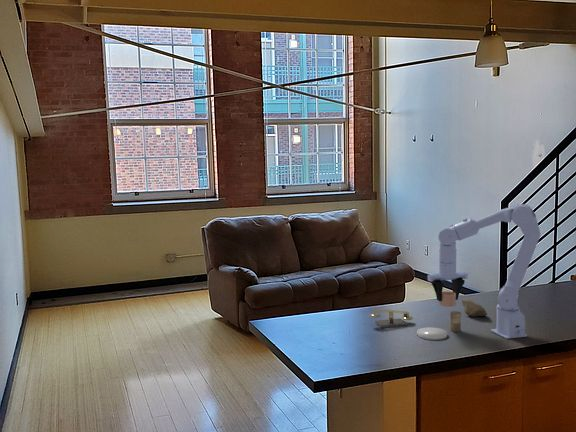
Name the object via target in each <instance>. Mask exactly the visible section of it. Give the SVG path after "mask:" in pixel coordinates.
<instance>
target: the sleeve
mask: <svg viewBox="0 0 576 432" xmlns="http://www.w3.org/2000/svg"><path fill="white" fill-rule="evenodd" d="M456 301H457V300H456V293H454V292H453V291H442V301H438V305H439V306H441V307H446V308H447V307H450V308H451V307H455V306H457V303H456Z"/></svg>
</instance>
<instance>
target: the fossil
mask: <svg viewBox="0 0 576 432" xmlns="http://www.w3.org/2000/svg"><path fill="white" fill-rule="evenodd" d="M461 302H462V306H463V309H464V313H465V314H466V315H467V316H470V317H473V318H475V317H482V316H483V317H485V316H488V313H487V311H486V309H485V308H484V307H483V306H482V305H480V304H478V303H476V302H475V301H472V300H470V299H465V298H464V299H461Z"/></svg>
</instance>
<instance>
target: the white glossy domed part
mask: <svg viewBox="0 0 576 432" xmlns="http://www.w3.org/2000/svg"><path fill="white" fill-rule="evenodd" d="M417 335H418V336H419V337H418V336H417ZM416 336H417V337H418V338H420V337H421V338H420V339H424V340H430V341H439V340H444V339H446V338H447V337H448V331H447V330H445V329H444V328H440V327H439V328H438V327H429V326H428V327H421V328H418V329H417V330H416Z"/></svg>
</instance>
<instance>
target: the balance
mask: <svg viewBox="0 0 576 432" xmlns="http://www.w3.org/2000/svg"><path fill="white" fill-rule="evenodd" d="M372 311H373V312H372V313H369V314H368V317H369V318H379V317H381V314H380V313H376V312H384V313H388V319H379V320H375V321H374V324H375V325H377V326H378V327H380V328H381V329H384V328H394V327H395V328H396V326H397V327H404V326H403V325H407V326H408V322H407V321H411V320H413V319H414V317H413V316H411V315H410V311H403V310H393V309H392V310H391V309H384V308H383V309H380V308H372ZM395 313H396V314H403V316H401V318H400V317H399V318H394V314H395Z"/></svg>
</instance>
